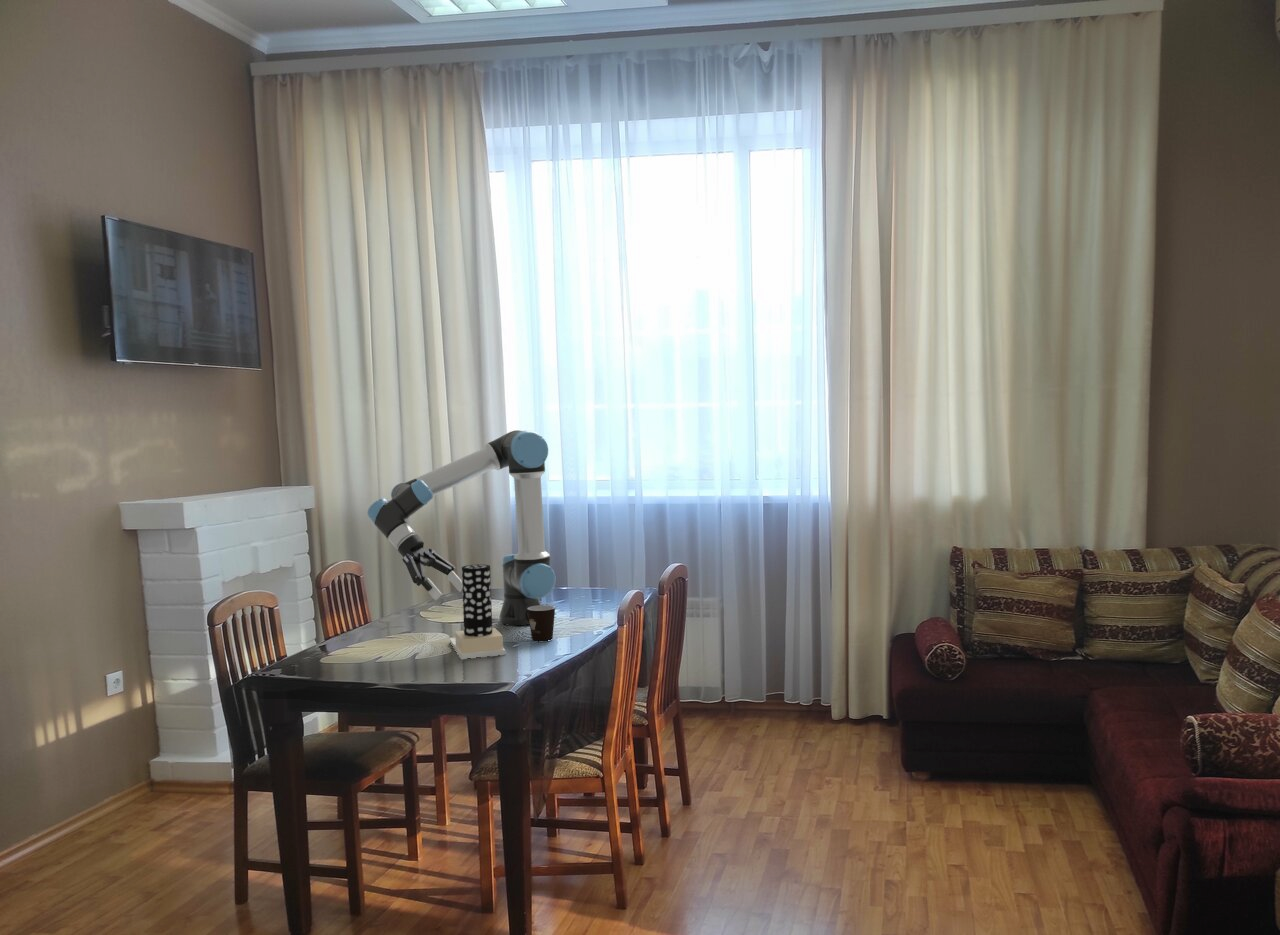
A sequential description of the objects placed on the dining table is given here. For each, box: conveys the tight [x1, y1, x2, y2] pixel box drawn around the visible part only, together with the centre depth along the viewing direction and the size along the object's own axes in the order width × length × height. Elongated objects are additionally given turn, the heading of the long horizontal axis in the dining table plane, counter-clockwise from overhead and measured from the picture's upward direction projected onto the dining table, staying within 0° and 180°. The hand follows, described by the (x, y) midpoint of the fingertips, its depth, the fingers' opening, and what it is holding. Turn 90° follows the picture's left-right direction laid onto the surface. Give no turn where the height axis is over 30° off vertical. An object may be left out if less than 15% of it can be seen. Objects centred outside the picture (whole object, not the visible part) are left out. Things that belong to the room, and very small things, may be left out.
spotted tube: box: [461, 564, 493, 637], centre depth 299 cm, size 8×8×20 cm
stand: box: [449, 627, 506, 660], centre depth 304 cm, size 13×22×6 cm, turn 19°
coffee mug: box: [526, 604, 556, 643], centre depth 315 cm, size 12×9×10 cm
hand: (451, 593), depth 302 cm, fingers open, 13 cm apart
